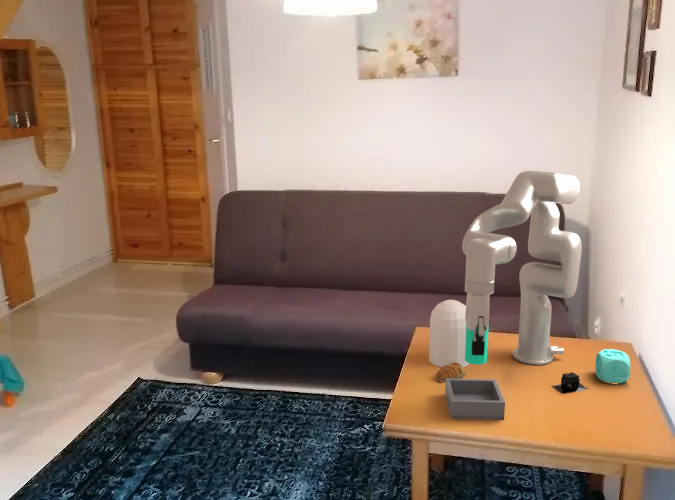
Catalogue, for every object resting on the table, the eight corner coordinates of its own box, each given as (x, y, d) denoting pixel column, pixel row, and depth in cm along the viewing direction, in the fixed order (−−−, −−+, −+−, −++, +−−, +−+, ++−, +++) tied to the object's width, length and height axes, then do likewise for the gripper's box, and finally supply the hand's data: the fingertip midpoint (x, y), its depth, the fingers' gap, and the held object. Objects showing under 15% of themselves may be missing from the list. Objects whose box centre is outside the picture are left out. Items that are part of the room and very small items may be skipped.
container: (426, 366, 209) (428, 306, 205) (430, 350, 222) (432, 293, 217) (469, 370, 206) (472, 309, 201) (471, 353, 219) (474, 295, 214)
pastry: (448, 386, 196) (448, 374, 195) (429, 379, 201) (430, 367, 200) (466, 376, 202) (467, 365, 202) (448, 370, 207) (448, 358, 206)
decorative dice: (629, 385, 196) (631, 359, 194) (600, 383, 197) (603, 358, 195) (621, 373, 203) (623, 349, 202) (594, 372, 204) (596, 348, 202)
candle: (461, 356, 182) (463, 314, 179) (483, 355, 183) (485, 314, 180) (467, 365, 176) (469, 322, 174) (489, 364, 177) (492, 321, 174)
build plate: (579, 381, 200) (580, 367, 198) (595, 391, 193) (597, 377, 192) (544, 387, 196) (545, 373, 195) (559, 398, 189) (560, 383, 188)
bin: (494, 395, 189) (495, 379, 188) (504, 419, 176) (505, 402, 175) (445, 394, 190) (445, 378, 189) (450, 418, 177) (451, 401, 175)
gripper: (460, 276, 183) (458, 338, 187) (469, 295, 166) (466, 363, 171) (488, 277, 183) (485, 339, 187) (499, 296, 166) (495, 363, 170)
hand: (476, 350), depth 179 cm, fingers closed on candle, 4 cm apart
